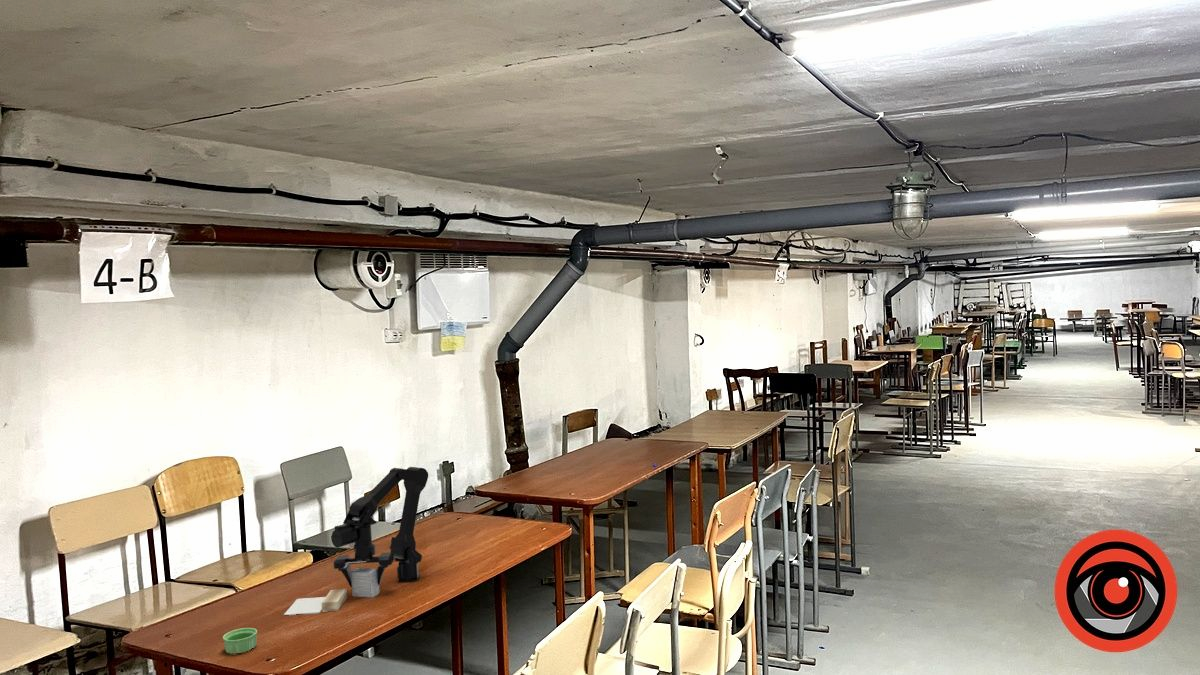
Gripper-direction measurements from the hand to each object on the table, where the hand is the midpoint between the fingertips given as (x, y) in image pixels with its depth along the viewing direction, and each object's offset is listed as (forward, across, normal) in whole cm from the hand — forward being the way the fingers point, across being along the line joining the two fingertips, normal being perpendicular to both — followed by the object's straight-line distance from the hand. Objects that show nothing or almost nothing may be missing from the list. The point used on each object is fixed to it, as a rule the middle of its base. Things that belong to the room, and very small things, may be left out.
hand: (365, 585), depth 269 cm
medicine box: (+3, 0, 0) cm, 3 cm away
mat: (+3, +17, +7) cm, 19 cm away
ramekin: (+4, +27, +38) cm, 47 cm away
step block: (+3, +8, +7) cm, 11 cm away
